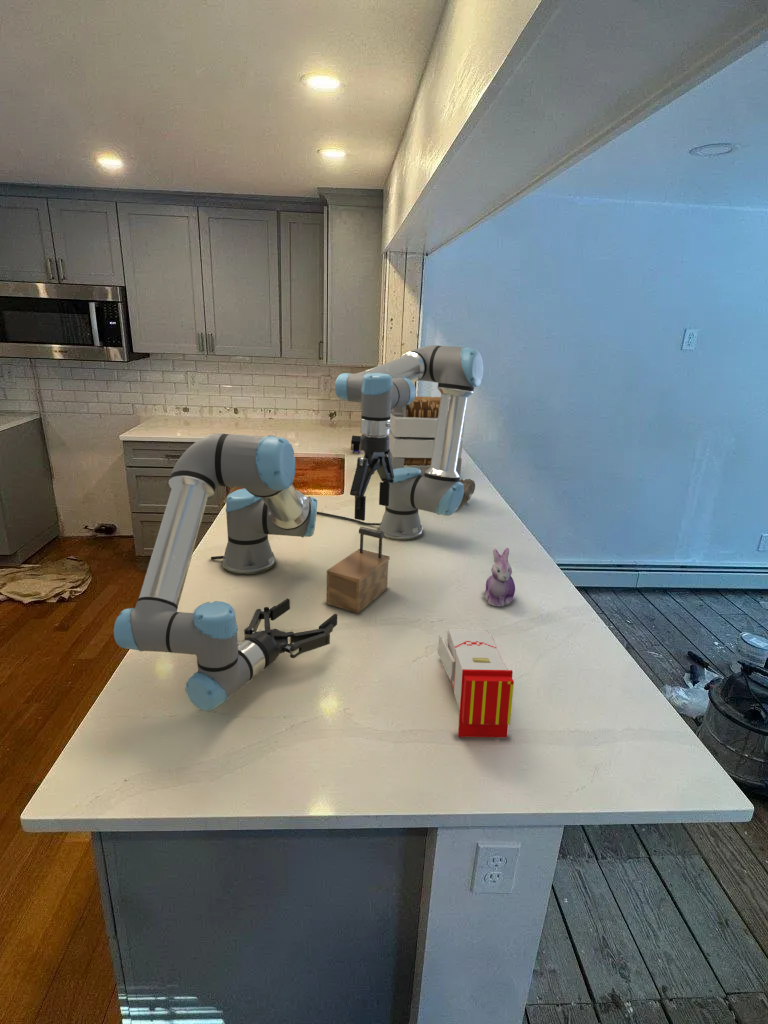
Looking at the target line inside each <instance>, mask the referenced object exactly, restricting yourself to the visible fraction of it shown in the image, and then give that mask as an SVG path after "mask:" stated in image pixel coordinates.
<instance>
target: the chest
mask: <svg viewBox="0 0 768 1024" xmlns="http://www.w3.org/2000/svg"><path fill="white" fill-rule="evenodd" d="M388 573H389V560H388V561H387V562H386V563H384V564H383V565H382V566H381V567H379V568H378V569H377V570H375V571H374V572H373V573H371V574H370V575H369V576H368V577H366V578H365V579H364V580H362V581H361V582H360V583H357V582H354V581H350V580H347V579H343V578H340V577H336V576H333V575H329V574H327V573H326V604H327V605H328V606H329V605H330V606H333V607H336V608H339V609H342V610H345V611H349V612H351V613H355V614H359V613H360V612H362V611H363V610H364V609H365V608H366V607H368V606H369V605H370V604H371V603H372V602H373V601H375V600H376V599H377V598H379V596H380V595H382V594H383V593H384V592H385V591H386V590H387V589H388V577H389V574H388Z"/></svg>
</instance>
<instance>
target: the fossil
mask: <svg viewBox="0 0 768 1024" xmlns="http://www.w3.org/2000/svg"><path fill="white" fill-rule="evenodd" d="M459 482H461V483H462V484H463V485H464V494H463V498H462V501H461V503H460V505H459V507H458V509H462V507H463V506H465V505H468V504H469V503H468V502H469V501H470V500H471V497H472V496H473V495H474V494H475V490H476V483H475V480H473V479H471V478H466V479H463V478H460V480H459ZM458 509H457V510H458Z"/></svg>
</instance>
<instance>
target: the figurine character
mask: <svg viewBox="0 0 768 1024" xmlns="http://www.w3.org/2000/svg"><path fill="white" fill-rule="evenodd" d="M360 439H361V435H351V441H350V451H352V454H355V453H357V454H360V451H363V450H362V449H361V448H360Z"/></svg>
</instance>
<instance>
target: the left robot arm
mask: <svg viewBox="0 0 768 1024" xmlns="http://www.w3.org/2000/svg"><path fill="white" fill-rule="evenodd" d="M295 475H296V457H295V451H294V448H293V445H292V443H291V442H290V441H289V440H288V439H287V438H285V437H282V436H281V437H280V436H275V435H266V436H264V435H249V434H248V435H247V434H235V433H233V434H232V433H212V434H208V435H205V436H204V437H201V438H199V439H198V440H197V441H195V442H194V443H192V444H191V445H190V446H189V447H188V448H187V449H186V450H184V452H183V453H182V454H181V456H179V458H178V460H177V461H176V463H175V464H174V466H173V468H172V470H171V473H170V475H169V478H168V482H167V485H168V487H169V489H170V493H169V496H168V500H167V503H166V506H165V509H164V512H163V515H162V519H161V523H160V526H159V529H158V533H157V536H156V539H155V542H154V545H153V549H152V552H151V556H150V559H149V562H148V565H147V569H146V571H145V575H144V578H143V582H142V585H141V588H140V591H139V595H138V598H137V601H136V604H135V607H131V608H125V609H122V611H120V613H119V615H118V616H117V617H116V618H115V622H114V626H113V638H114V641H115V643H116V644H117V646H118V647H119V648H122V649H125V650H131V651H132V650H133V651H138V652H158V653H171V654H181V655H193V656H195V657H196V665H197V671H195V672H194V673H192V675H191V676H190V677H188V679H187V681H186V684H185V692H186V695H187V698H188V700H189V701H190V703H191V704H192V705H193V706H195V707H196V708H197V709H200V710H201V711H204V712H209V711H213V710H214V709H216V708H217V707H219V706H220V705H222V704H224V703H225V702H227V701H228V700H229V699H230V698H231V697H232V696H233V695H234V694H236V693H237V692H238V691H240V689H242V688H243V687H244V686H246V685H247V684H248V683H250V681H252V680H253V679H254V678H255V677H257V676H258V675H259V674H261V673H262V672H263V671H264V670H266V669H267V668H268V667H270V665H272V664H274V662H276V660H277V659H278V658H279V656H280V655H281V654H283V653H288V654H289V657H290V658H291V659H295V658H296V657H298V656H300V655H301V654H305V653H307V652H310V651H313V650H316V649H319V648H322V647H325V646H327V645H330V644H331V634H332V632H334V631H333V630H334V629H335V628H336V626H338V613H333V614H332V615H331V616H330V617H329V618H327V619H326V620H325V621H323V622H322V623H321V624H320V625H318V629H317V628H315V629H312V630H304V631H299V632H294V631H287V632H285V631H281V630H279V629H277V628H271V621H273V622H274V621H275V620H276V619H278V618H279V617H281V616H282V615H284V614H285V613H287V612H288V611H290V610H291V598H285V599H284V600H283V601H281V602H280V603H278V604H276V605H273V606H272V607H269V606H264V607H263V610H262V609H261V608H257V609H255V612H254V613H253V615H252V617H251V620H250V622H249V624H248V626H246V627H245V628H244V629H243V636H244V637H243V638H244V639H243V640H241V641H239V640H238V630H239V629H238V624H237V618H236V610H235V608H234V607H233V606H232V605H231V604H230V603H228V602H225V601H219V600H214V601H212V602H210V601H209V602H204V603H202V604H200V605H198V606H197V607H196V608H195V609H194V611H193V612H184V611H182V612H181V611H178V609H179V604H180V601H181V598H182V593H183V591H184V587H185V582H186V579H187V576H188V572H189V569H190V568H189V567H190V566H191V565H190V564H191V561H192V557H193V554H194V550H195V546H196V543H197V539H198V535H199V532H200V528H201V524H202V521H203V517H204V514H205V509H206V506H207V503H208V500H211V499H212V498H213V497H214V495H215V492H216V489H217V488H218V487H226V488H227V487H228V488H240V489H236V490H234V491H232V492H230V493H229V494H228V495H227V497H226V499H225V500H226V501H225V503H226V504H225V505H226V506H225V514H226V530H227V543H226V547H225V549H224V550H225V551H224V555H216V556H210V560H212V561H213V560H214V561H215V560H222V567H223V569H224V570H226V571H227V572H228V573H232V574H235V575H256V574H261V573H264V572H266V571H269V570H270V569H272V568H273V567H274V566H275V563H276V562H275V561H276V557H275V554H274V552H273V550H272V547H271V543H270V541H269V535H273V536H286V537H300V538H311V537H312V536H314V534H315V530H316V522H317V515H318V514H317V512H318V499H317V498H316V497H312V496H306V495H305V494H304V493H302V492H301V491H299V490H298V489H296V487H295V486H294V484H293V483H294V480H295ZM262 620H263V625H264V630H258V629H259V626H260V624H261V622H262ZM238 641H239V642H238Z"/></svg>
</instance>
